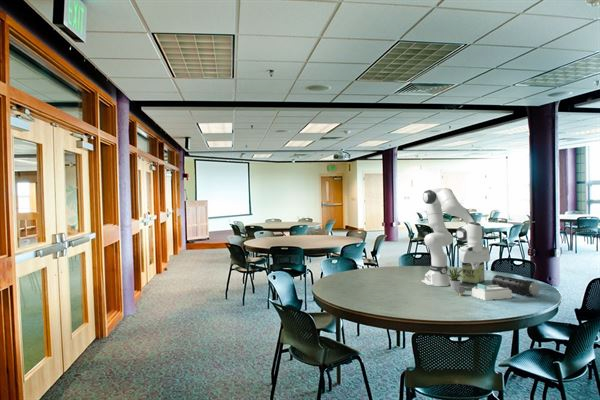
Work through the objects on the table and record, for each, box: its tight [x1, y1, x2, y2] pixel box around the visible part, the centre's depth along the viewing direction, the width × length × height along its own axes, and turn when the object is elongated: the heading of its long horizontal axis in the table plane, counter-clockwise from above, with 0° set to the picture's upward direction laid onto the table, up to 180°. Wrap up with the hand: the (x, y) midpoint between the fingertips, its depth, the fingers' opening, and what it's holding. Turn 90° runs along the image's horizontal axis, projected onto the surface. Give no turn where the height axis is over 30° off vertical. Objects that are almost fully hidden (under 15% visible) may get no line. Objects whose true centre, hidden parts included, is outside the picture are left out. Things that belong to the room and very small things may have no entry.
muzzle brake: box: [491, 274, 540, 297], centre depth 259 cm, size 10×28×10 cm, turn 25°
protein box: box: [461, 262, 485, 286], centre depth 293 cm, size 10×16×16 cm
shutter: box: [476, 283, 494, 291], centre depth 249 cm, size 7×8×3 cm
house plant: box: [447, 266, 465, 291], centre depth 272 cm, size 14×14×16 cm
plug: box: [455, 284, 466, 297], centre depth 256 cm, size 4×4×6 cm
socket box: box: [471, 284, 513, 301], centre depth 250 cm, size 12×20×6 cm, turn 104°
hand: (475, 269), depth 247 cm, fingers closed
